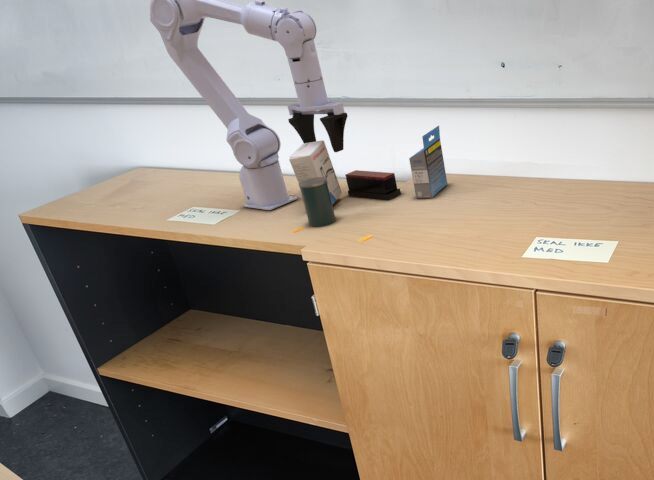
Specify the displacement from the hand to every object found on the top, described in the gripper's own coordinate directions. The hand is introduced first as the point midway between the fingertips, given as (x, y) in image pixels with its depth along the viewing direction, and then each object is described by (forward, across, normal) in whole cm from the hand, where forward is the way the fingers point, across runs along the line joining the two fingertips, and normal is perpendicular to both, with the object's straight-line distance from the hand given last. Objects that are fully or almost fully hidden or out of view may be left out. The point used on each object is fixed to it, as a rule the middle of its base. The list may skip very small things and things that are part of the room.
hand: (325, 150), depth 141 cm
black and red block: (+11, -6, -5) cm, 13 cm away
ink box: (+10, 0, +3) cm, 11 cm away
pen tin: (+11, -8, +12) cm, 17 cm away
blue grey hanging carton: (+11, -18, -10) cm, 24 cm away
